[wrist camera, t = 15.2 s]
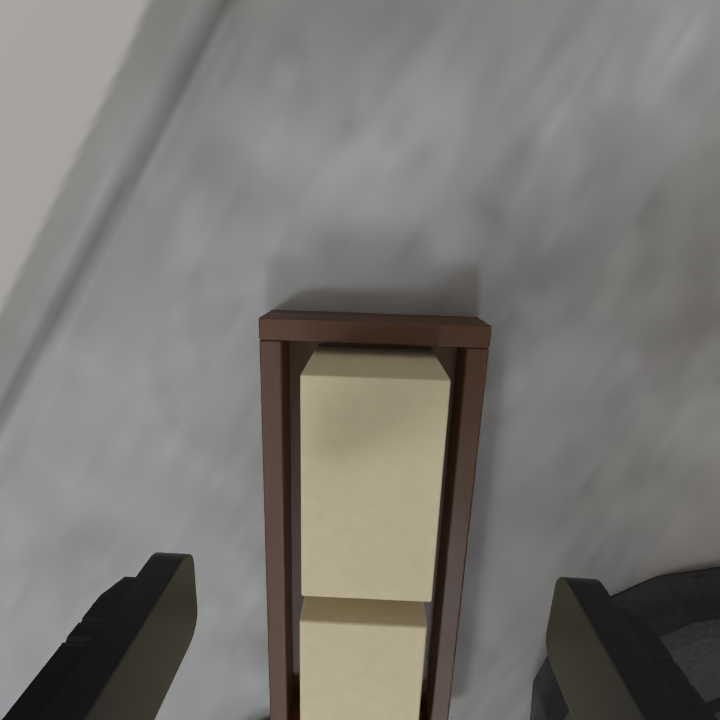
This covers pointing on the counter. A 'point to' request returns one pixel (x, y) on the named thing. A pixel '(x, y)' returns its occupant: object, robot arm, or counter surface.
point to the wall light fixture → (662, 636)
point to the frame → (283, 478)
